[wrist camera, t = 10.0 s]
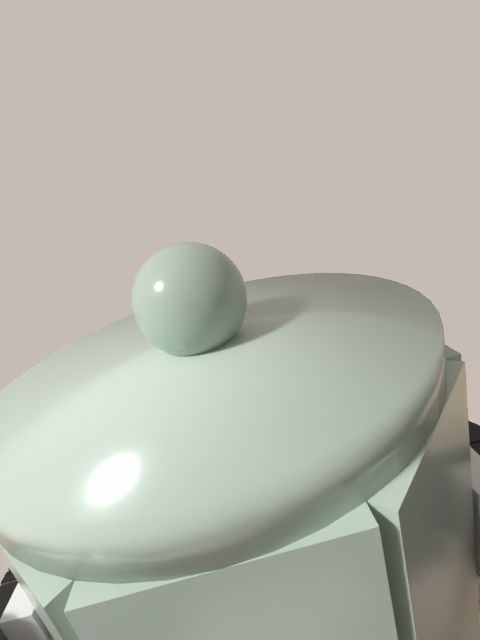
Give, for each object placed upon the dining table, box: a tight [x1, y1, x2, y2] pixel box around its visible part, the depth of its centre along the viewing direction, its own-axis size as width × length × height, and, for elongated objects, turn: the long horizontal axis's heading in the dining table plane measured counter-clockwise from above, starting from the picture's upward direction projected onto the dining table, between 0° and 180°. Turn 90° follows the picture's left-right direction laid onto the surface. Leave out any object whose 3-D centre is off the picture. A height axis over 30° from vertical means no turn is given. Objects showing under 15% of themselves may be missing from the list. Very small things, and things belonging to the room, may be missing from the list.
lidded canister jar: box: [0, 242, 480, 640], centre depth 10 cm, size 10×10×14 cm
